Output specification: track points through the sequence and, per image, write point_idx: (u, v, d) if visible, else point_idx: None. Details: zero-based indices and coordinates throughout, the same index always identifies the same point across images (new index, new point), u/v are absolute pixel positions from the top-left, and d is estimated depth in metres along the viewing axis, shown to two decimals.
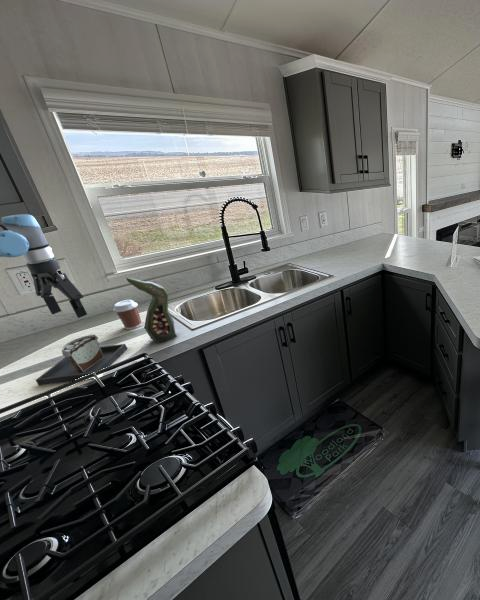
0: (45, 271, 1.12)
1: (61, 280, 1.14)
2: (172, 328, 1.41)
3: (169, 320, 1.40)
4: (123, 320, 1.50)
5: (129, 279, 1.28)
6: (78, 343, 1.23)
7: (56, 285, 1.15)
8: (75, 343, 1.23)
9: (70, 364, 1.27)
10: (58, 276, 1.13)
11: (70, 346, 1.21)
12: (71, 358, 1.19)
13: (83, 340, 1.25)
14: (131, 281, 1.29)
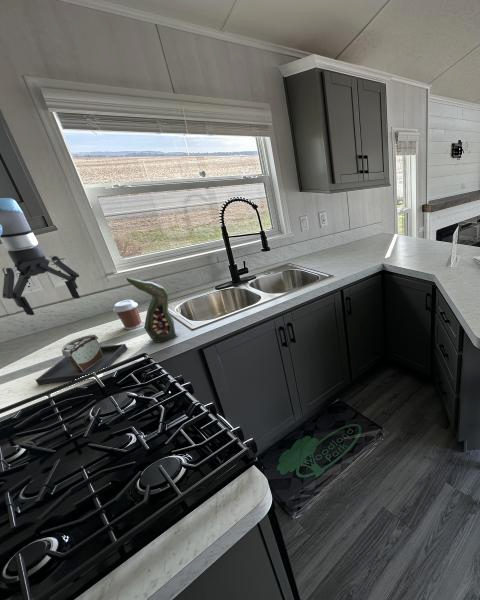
0: None
1: None
2: (172, 328, 1.41)
3: (169, 320, 1.40)
4: (123, 320, 1.50)
5: (129, 279, 1.28)
6: (78, 343, 1.23)
7: (52, 268, 1.14)
8: (75, 343, 1.23)
9: (70, 364, 1.27)
10: (57, 256, 1.15)
11: (70, 346, 1.21)
12: (71, 358, 1.19)
13: (83, 340, 1.25)
14: (131, 281, 1.29)
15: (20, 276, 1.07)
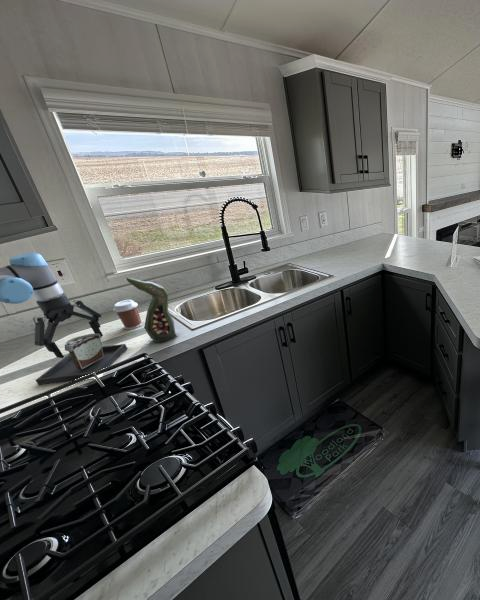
0: (69, 301, 1.18)
1: None
2: (172, 328, 1.41)
3: (169, 320, 1.40)
4: (123, 320, 1.50)
5: (129, 279, 1.28)
6: (82, 340, 1.24)
7: (77, 312, 1.21)
8: (78, 340, 1.24)
9: (70, 364, 1.27)
10: (80, 301, 1.22)
11: (73, 342, 1.22)
12: (73, 353, 1.19)
13: (87, 338, 1.26)
14: (131, 281, 1.29)
15: (49, 323, 1.15)
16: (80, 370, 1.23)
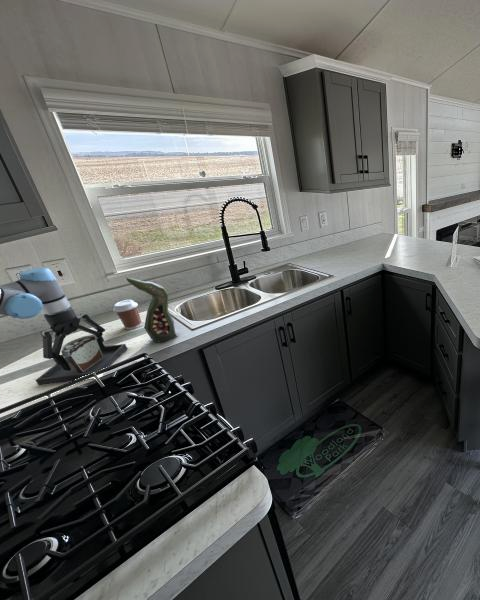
0: (75, 314, 1.20)
1: None
2: (172, 328, 1.41)
3: (169, 320, 1.40)
4: (123, 320, 1.50)
5: (129, 279, 1.28)
6: (78, 343, 1.23)
7: None
8: (75, 343, 1.23)
9: (70, 364, 1.27)
10: (86, 314, 1.24)
11: (70, 346, 1.21)
12: (71, 358, 1.18)
13: (83, 340, 1.25)
14: (131, 281, 1.29)
15: (56, 336, 1.17)
16: None
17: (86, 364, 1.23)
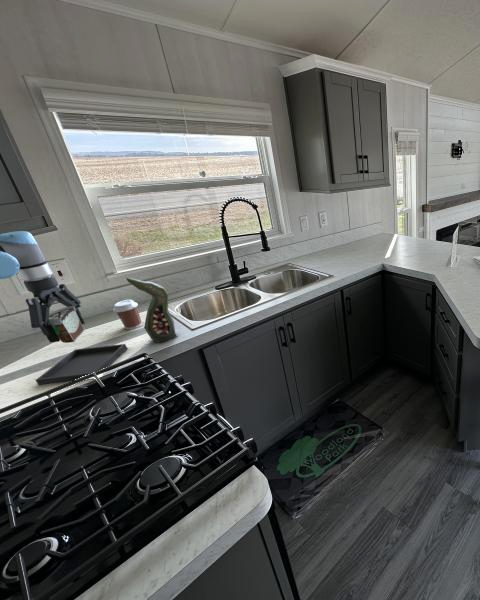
0: None
1: None
2: (172, 328, 1.41)
3: (169, 320, 1.40)
4: (123, 320, 1.50)
5: (129, 279, 1.28)
6: (59, 314, 1.17)
7: None
8: (55, 315, 1.17)
9: (70, 364, 1.27)
10: None
11: (52, 317, 1.15)
12: (62, 326, 1.14)
13: (62, 312, 1.19)
14: (131, 281, 1.29)
15: (40, 306, 1.11)
16: (80, 370, 1.23)
17: (74, 334, 1.19)
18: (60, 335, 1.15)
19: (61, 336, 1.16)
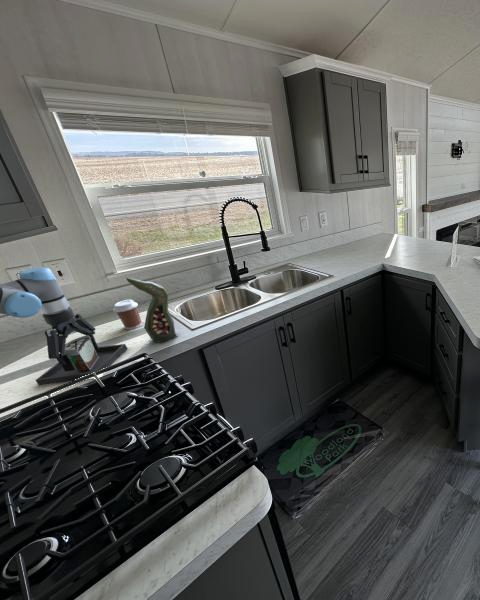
0: None
1: None
2: (172, 328, 1.41)
3: (169, 320, 1.40)
4: (123, 320, 1.50)
5: (129, 279, 1.28)
6: (76, 344, 1.22)
7: None
8: (72, 345, 1.22)
9: None
10: None
11: (69, 348, 1.20)
12: (78, 357, 1.19)
13: (78, 341, 1.24)
14: (131, 281, 1.29)
15: None
16: None
17: (90, 363, 1.24)
18: (77, 364, 1.21)
19: (78, 365, 1.21)
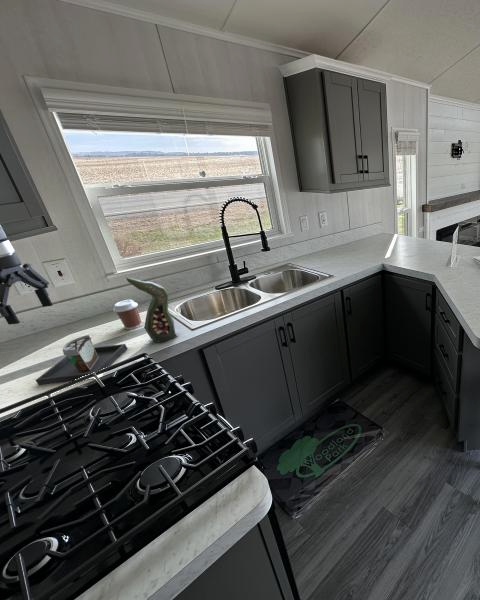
0: None
1: None
2: (172, 328, 1.41)
3: (169, 320, 1.40)
4: (123, 320, 1.50)
5: (129, 279, 1.28)
6: (76, 344, 1.22)
7: None
8: (72, 345, 1.22)
9: (70, 364, 1.27)
10: None
11: (69, 348, 1.20)
12: (78, 357, 1.19)
13: (78, 341, 1.24)
14: (131, 281, 1.29)
15: None
16: None
17: (90, 363, 1.24)
18: (77, 364, 1.21)
19: (78, 365, 1.21)
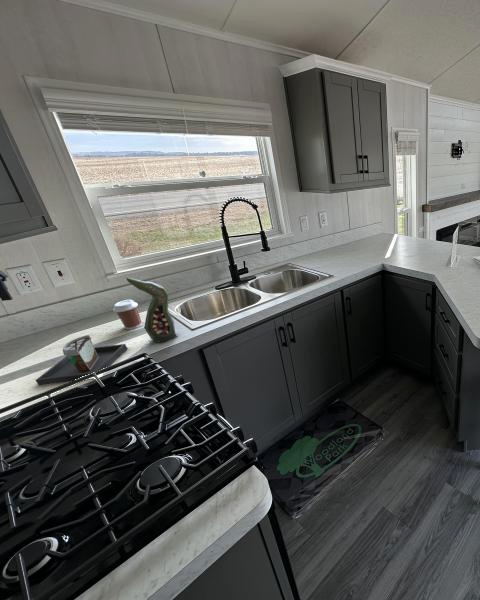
0: None
1: None
2: (172, 328, 1.41)
3: (169, 320, 1.40)
4: (123, 320, 1.50)
5: (129, 279, 1.28)
6: (76, 344, 1.22)
7: None
8: (72, 345, 1.22)
9: (70, 364, 1.27)
10: None
11: (69, 348, 1.20)
12: (78, 357, 1.19)
13: (78, 341, 1.24)
14: (131, 281, 1.29)
15: None
16: None
17: (90, 363, 1.24)
18: (77, 364, 1.21)
19: (78, 365, 1.21)
